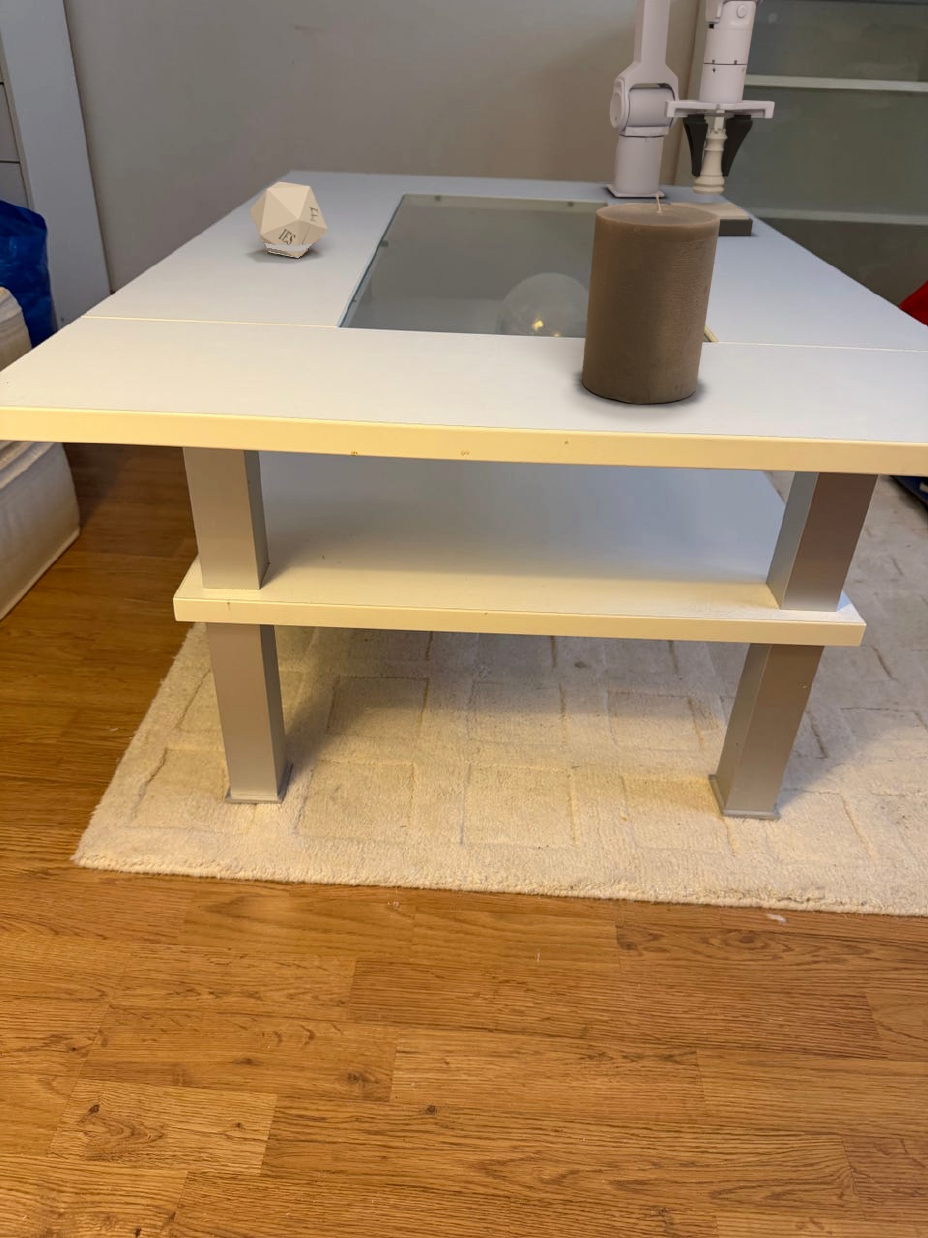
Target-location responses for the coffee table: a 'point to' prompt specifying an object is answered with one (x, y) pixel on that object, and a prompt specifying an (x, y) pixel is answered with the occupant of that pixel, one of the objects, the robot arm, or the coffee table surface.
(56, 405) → the coffee table surface
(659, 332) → the pillar candle
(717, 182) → the rook chess piece
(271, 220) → the die
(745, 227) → the scale
